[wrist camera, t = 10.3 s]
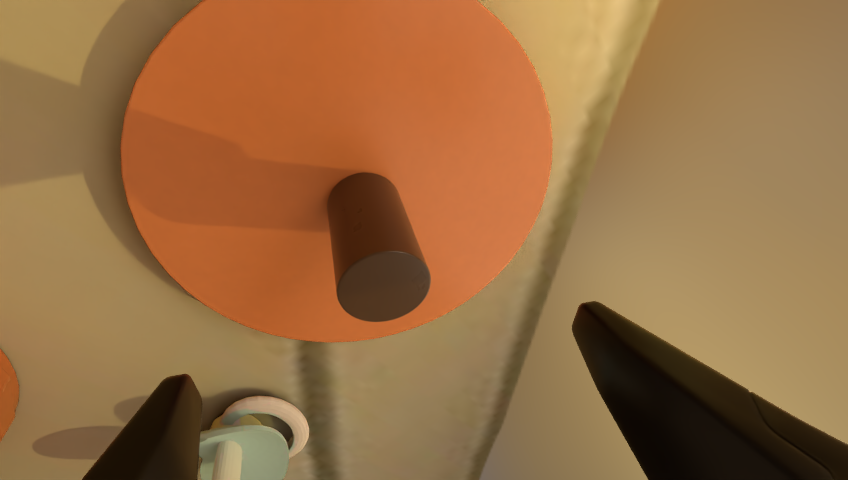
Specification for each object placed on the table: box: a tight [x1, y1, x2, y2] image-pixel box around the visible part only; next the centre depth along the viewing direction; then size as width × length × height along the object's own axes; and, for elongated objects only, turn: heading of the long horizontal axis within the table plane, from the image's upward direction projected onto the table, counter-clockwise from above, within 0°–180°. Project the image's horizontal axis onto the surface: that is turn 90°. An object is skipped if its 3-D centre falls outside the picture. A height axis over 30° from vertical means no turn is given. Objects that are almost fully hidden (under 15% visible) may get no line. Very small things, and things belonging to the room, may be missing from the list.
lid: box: [120, 0, 552, 342], centre depth 13 cm, size 15×15×6 cm
